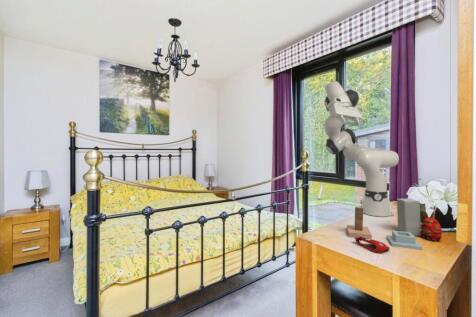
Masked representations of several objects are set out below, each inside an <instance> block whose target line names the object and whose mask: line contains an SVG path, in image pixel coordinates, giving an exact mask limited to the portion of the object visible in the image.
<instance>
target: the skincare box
mask: <svg viewBox="0 0 476 317" xmlns="http://www.w3.org/2000/svg"><path fill="white" fill-rule="evenodd" d="M420 205H421V202H420V201H419V200H416V199H413V198H396V210H397V231H402V232H410V233H411V234H412V235H413V236H414V237H416V236H417V237H421V225H422V223H421V206H420Z"/></svg>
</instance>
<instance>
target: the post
mask: <svg viewBox="0 0 476 317" xmlns="http://www.w3.org/2000/svg"><path fill="white" fill-rule="evenodd" d="M354 225H355V230H359V231H363V226H364V213H363V208H362V207H361V206H359V207H358V206H354Z"/></svg>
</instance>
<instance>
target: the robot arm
mask: <svg viewBox="0 0 476 317" xmlns="http://www.w3.org/2000/svg"><path fill="white" fill-rule="evenodd" d="M324 89H325V92H326V97H325V100H324V106H325V109H326V111H328V113H329V116H327V118H326V119H325V122H324V132H325V135H326V136H327V137H328V138H327V139H326V140H325V141H326V143H325V148H326V150H327V152H328V153H330V154H331V155H337V154H339V153H340V152H341V151H342V152H343V156H344V157H345V158H347V159H348V160H351V161H353V162H356V164H357V165H358V167H360V168H361V170H362V172H363V173H364V177H365V190H364V197H363V198H362V200H361V199H360V205H361V206H360V207H362V208H363V214H364V213H365V215H368V216H372V217H373V216H374V217H389V216H394V213H393V212H391V201H390V199H388V196H389V194H388V190H387V189H388V178H387V177H386V176H385V175H383V173H382V172H381V170H380V169H387V168H393V167H395V166H397V165H398V163H399V160H400V159H399V158H400V157H399V154H398V153H397V152H396V151H394V150H389V149H383V148H378V147H377V148H376V147H367V146H364V145H359V144H358V145H357V144H356V142H357V141H356V138H357V136H356V134H355V131H354V130H352V129H351V128H345V129H343V130H342V127H343V125H347V123H348V121H352V122H354V127H359V126H360V125H361V124H360V120H361V119H363V116H362V114H361V112H360V110H358V108H357V107H356V106H357V105H358V103H359V100H360V99H359V98H360V97H359V94H358V92H357V91H356V90H354V89H351V88H350V89H348V90H345V89H344V88H343V86H342V85H341V84H340V82H339V81H337V80H336V81H331V82H329V83H327V84H326V85H325V87H324Z"/></svg>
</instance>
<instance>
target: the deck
mask: <svg viewBox="0 0 476 317" xmlns="http://www.w3.org/2000/svg"><path fill="white" fill-rule="evenodd" d="M346 231H347V235H348V238H353V239H354V238H355V237H358V236H364V237H366V240H372V239H373V237H372V236H373V234H372V233H371V230H370V228H369V227H368V226H364V225H363V231H359V230H355V224H352V225H351V224H346Z"/></svg>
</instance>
